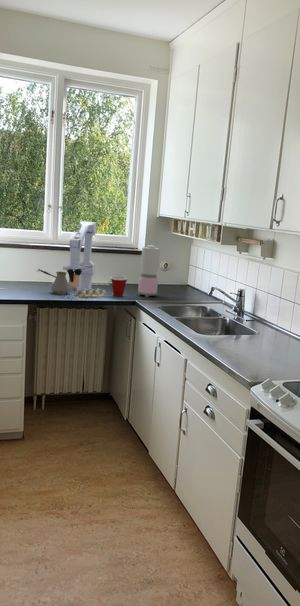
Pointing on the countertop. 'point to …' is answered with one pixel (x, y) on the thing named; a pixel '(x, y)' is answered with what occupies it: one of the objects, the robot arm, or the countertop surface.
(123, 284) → the plastic cup
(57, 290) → the coffee pot
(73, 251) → the robot arm
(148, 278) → the blender
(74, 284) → the upright peach slab
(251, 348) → the countertop surface
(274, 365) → the countertop surface
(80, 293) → the dish rack
